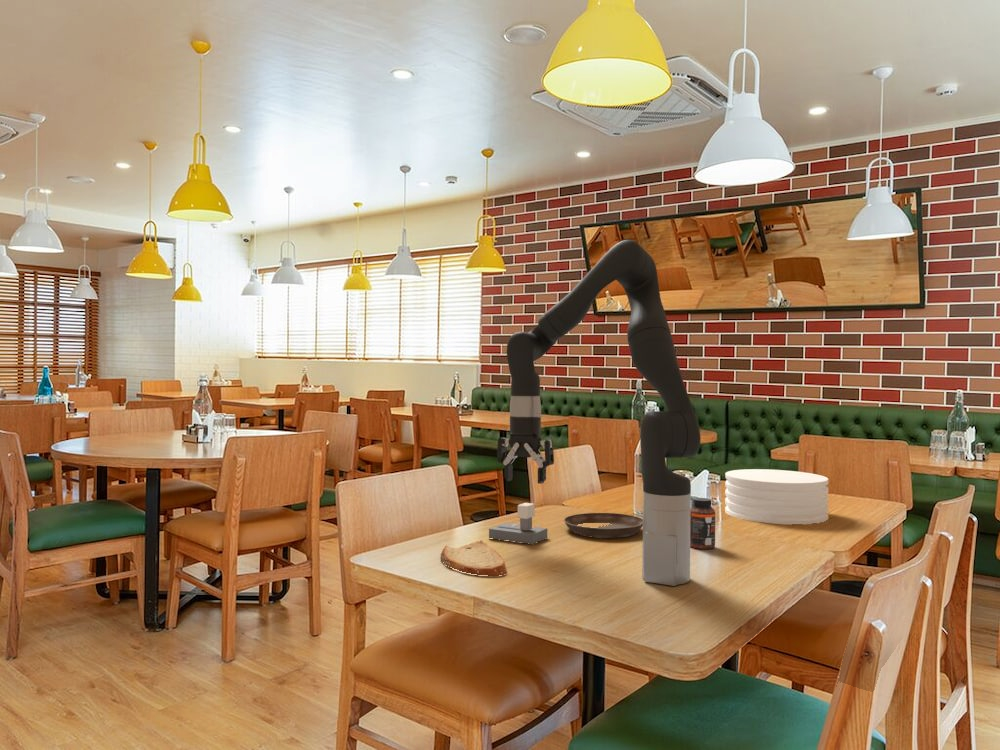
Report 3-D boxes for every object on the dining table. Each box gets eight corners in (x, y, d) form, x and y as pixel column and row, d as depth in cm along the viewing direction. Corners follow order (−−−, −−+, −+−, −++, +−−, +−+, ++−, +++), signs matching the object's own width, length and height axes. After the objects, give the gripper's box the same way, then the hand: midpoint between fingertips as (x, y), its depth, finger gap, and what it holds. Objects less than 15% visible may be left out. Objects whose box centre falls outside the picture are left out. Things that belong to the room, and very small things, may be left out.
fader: (527, 531, 169) (527, 506, 169) (517, 530, 170) (517, 505, 170) (534, 528, 172) (534, 503, 172) (525, 527, 174) (525, 502, 174)
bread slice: (501, 581, 139) (501, 562, 139) (419, 571, 145) (419, 553, 145) (528, 558, 156) (528, 541, 156) (453, 551, 162) (454, 535, 162)
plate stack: (717, 504, 222) (718, 468, 222) (811, 507, 218) (811, 470, 218) (734, 523, 194) (735, 481, 194) (842, 527, 191) (842, 484, 191)
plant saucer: (547, 530, 185) (547, 517, 185) (603, 520, 197) (603, 508, 197) (604, 545, 168) (604, 531, 168) (661, 534, 181) (661, 521, 181)
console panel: (532, 545, 167) (532, 534, 167) (488, 538, 173) (489, 528, 173) (547, 538, 174) (547, 527, 174) (504, 532, 180) (504, 522, 180)
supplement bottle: (716, 550, 163) (716, 501, 163) (689, 549, 164) (690, 500, 164) (713, 544, 169) (714, 497, 169) (688, 543, 170) (688, 496, 170)
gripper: (492, 414, 171) (491, 481, 171) (545, 416, 164) (545, 486, 164) (506, 413, 178) (506, 478, 177) (558, 415, 171) (558, 482, 171)
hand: (524, 481), depth 171 cm, fingers open, 8 cm apart
